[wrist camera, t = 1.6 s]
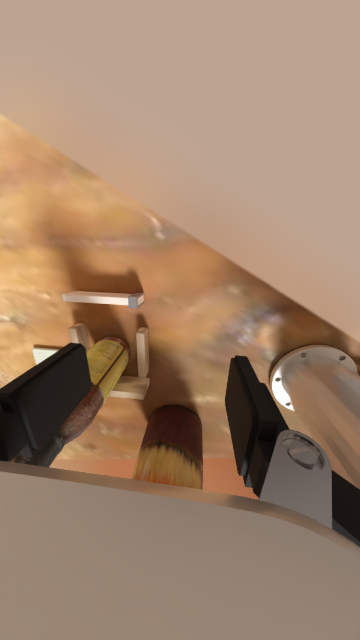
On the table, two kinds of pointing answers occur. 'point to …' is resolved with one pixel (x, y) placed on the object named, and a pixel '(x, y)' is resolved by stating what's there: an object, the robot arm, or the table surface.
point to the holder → (125, 384)
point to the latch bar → (105, 298)
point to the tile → (42, 353)
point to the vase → (171, 449)
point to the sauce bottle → (86, 398)
